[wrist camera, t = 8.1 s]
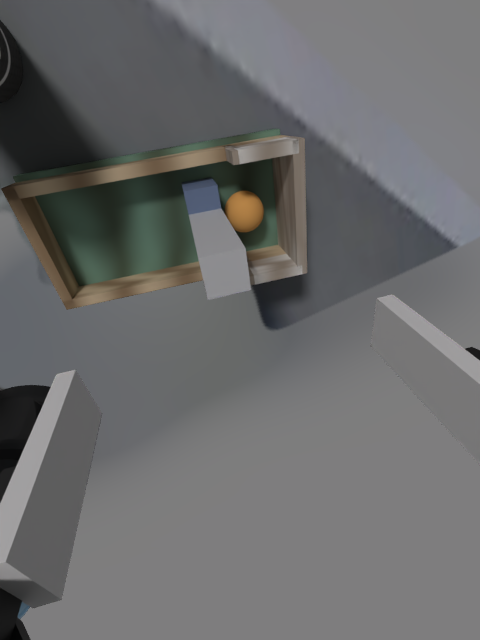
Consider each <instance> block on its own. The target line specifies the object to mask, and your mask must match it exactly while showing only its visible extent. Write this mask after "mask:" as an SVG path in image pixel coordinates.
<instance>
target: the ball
mask: <svg viewBox="0 0 480 640" xmlns="http://www.w3.org/2000/svg"><path fill="white" fill-rule="evenodd" d="M224 214H225V215H226V217H227V219H228V220H229V222H230V224H231V225H232V227H233V228H234V230H236V231H238V232H250V231H252V230H254V229H255V228H257V227H258V226H259V224H260V223H261V221H262V219H263V215H264V208H263V204H262V202H261V200H260V199H259V197H258V196H257V195H255V194H254V193H252V192H249V191H239V192H236V193H234V194H233V195H232V196H231V197H230V198H229V199H228V201H227V202H226V205H225V210H224Z"/></svg>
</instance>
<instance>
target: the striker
mask: <svg viewBox="0 0 480 640" xmlns="http://www.w3.org/2000/svg"><path fill="white" fill-rule="evenodd" d="M182 188H183V192H184V197H185V201H186V205H187V210H188V214H189V219H190V223H191V228H192V232H193V237H194V241H195V246H196V251H197V255H198V260H199V264H200V268H201V273H202V277H203V281H204V285H205V290H206V294H207V298H208V300H209V299H213V298H218V297H223V296H228V295H232V294H236V293H241V292H245V291H250V290H251V285H250V277H249V270H248V263H247V255H246V248H245V247H244V245H243V243H242V242H241V240H240V238H239V237H238V235H237V233H236V232H235V230H234V228H233V227H232V225H231V224H230V222H229V220H228V219H227V217H226V215H225V214H224V212H223V210H222V209H221V204H220V198H219V192H218V186H217V184H216V183H215V181H214V180H213V179H212V177H209V178H204V179H198V180H193V181H188V182H182Z"/></svg>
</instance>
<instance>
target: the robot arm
mask: <svg viewBox="0 0 480 640" xmlns="http://www.w3.org/2000/svg"><path fill="white" fill-rule="evenodd" d="M371 347H372V348H373V349H374V350H375V351H376V353H377V354H378V355H379V356H380V357H381V358H382V359H383V360H384V361H385V362H386V363H387V364H388V366H389V367H390V368H391V369H392V370H393V371H394V372H395V373H396V374H397V375H398V377H399V378H400V379H401V380H402V381H403V382H404V383H405V384H406V385H407V386H408V387H409V389H410V390H411V391H412V392H413V393H414V394H415V395H416V396H417V397H418V398H419V399H420V400H421V402H422V403H423V404H424V405H425V406H426V407H427V408H428V409H429V410H430V411H431V413H432V414H433V415H434V416H435V417H436V418H437V419H438V420H439V421H440V422H441V423H442V425H443V426H444V427H445V428H446V429H447V430H448V431H449V432H450V433H451V434H452V436H453V437H454V438H455V439H456V440H457V441H458V442H459V443H460V444H461V445H462V446H463V448H465V450H466V451H467V452H468V453H469V454H470V455H471V456H472V457H473V458H474V460H475V461H476V462H477V463H478V464H479V465H480V350H478V349H475V348H473V347H470V348H466V349H464V348H462V347H461V346H460V345H459V344H457V343H456V342H454V341H453V340H452V339H450V338H449V337H448V336H447V335H445V334H444V333H443V332H441V331H440V330H439V329H437V328H436V327H435V326H434V325H432V324H431V323H429V322H428V321H427V320H426V319H424V318H423V317H422V316H420V315H419V314H418V313H416V312H415V311H414V310H412V309H411V308H410V307H408V306H407V305H406V304H404V303H403V302H402V301H401V300H399V299H397V297H395V296H394V295H389V296H385V297H380V298H377V300H376V308H375V316H374V324H373V332H372V340H371ZM101 416H102V413H101V411H100V409H99V408H98V406H97V404H96V403H95V401H94V399H93V398H92V396H91V394H90V393H89V391H88V389H87V388H86V386H85V384H84V383H83V381H82V379H81V378H80V376H79V375H78V373H77V371H76V370H73V371H68V372H64V373H59V374H56V376H55V379H54V381H53V383H52V385H51V387H47V386H39V385H38V386H37V385H25V386H17V387H11V388H8V389H5V390H2V391H0V640H30V638H29V635H28V633H27V631H26V629H25V627H24V624H23V622H22V621H21V620H20V619H21V618H22V617H23V616H24V615H25V613H26V612H27V611H28V609H29V608H30V607H32V608H36V607H39V606H42V605H46V604H49V603H52V602H56V601H59V600H62V595H63V591H64V586H65V582H66V577H67V572H68V567H69V563H70V558H71V554H72V549H73V545H74V540H75V536H76V531H77V526H78V522H79V517H80V513H81V508H82V504H83V499H84V495H85V490H86V485H87V481H88V476H89V471H90V467H91V462H92V458H93V453H94V449H95V444H96V440H97V435H98V430H99V426H100V421H101Z"/></svg>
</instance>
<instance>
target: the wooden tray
mask: <svg viewBox="0 0 480 640" xmlns="http://www.w3.org/2000/svg"><path fill="white" fill-rule="evenodd" d="M209 177H212V179H213V180H214V181H215V183H216V184H217V186H218V192H219V198H220V204H221V209H222V210H223V212H224V210H225V205H226V202H227V201H228V199H229V198H230V197H231V196H232V195H233V194H234V193H236V192H239V191H249V192H252V193H254V194H255V195H257V196H258V197H259V199H260V200H261V202H262V204H263V208H264V215H263V219H262V221H261V223H260V224H259V226H258V227H257V228H255V229H254V230H252V231H250V232H238V231H236V230H235V232H236V233H237V235H238V237H239V238H240V240H241V242H242V243H243V245H244V247H245V248H246V255H247V263H248V270H249V277H250V285H256V284H260V283H265V282H269V281H274V280H278V279H283V278H287V277H292V276H296V275H301V274H305V273H307V237H306V186H305V138H300V137H292V136H284V135H280V129H271V130H265V131H260V132H254V133H249V134H243V135H237V136H232V137H226V138H221V139H215V140H209V141H204V142H198V143H192V144H187V145H181V146H176V147H170V148H164V149H159V150H153V151H148V152H142V153H136V154H131V155H125V156H120V157H114V158H108V159H103V160H97V161H92V162H86V163H80V164H75V165H69V166H63V167H58V168H52V169H47V170H41V171H35V172H30V173H24V174H19V175H16V176H13V178H14V180H15V182H16V183H14V184H11V185H9V186H6V187H4V188H1V189H2V191H3V193H4V195H5V197H6V199H7V200H8V202H9V204H10V206H11V208H12V210H13V212H14V213H15V215H16V217H17V219H18V221H19V223H20V224H21V226H22V228H23V230H24V232H25V234H26V235H27V237H28V239H29V241H30V243H31V245H32V246H33V248H34V250H35V252H36V254H37V256H38V258H39V259H40V261H41V263H42V265H43V267H44V269H45V270H46V272H47V274H48V276H49V278H50V280H51V281H52V283H53V285H54V287H55V289H56V291H57V292H58V294H59V296H60V298H61V300H62V302H63V303H64V305H65V307H66V309H67V310H68V309H72V308H77V307H82V306H86V305H91V304H96V303H100V302H105V301H110V300H114V299H118V298H123V297H128V296H133V295H137V294H142V293H147V292H151V291H156V290H160V289H165V288H170V287H174V286H178V285H184V284H188V283H193V282H197V281H202V280H203V277H202V273H201V268H200V264H199V260H198V255H197V251H196V246H195V241H194V237H193V232H192V228H191V223H190V219H189V214H188V210H187V205H186V201H185V197H184V192H183V188H182V182H188V181H193V180H198V179H204V178H209Z"/></svg>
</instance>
